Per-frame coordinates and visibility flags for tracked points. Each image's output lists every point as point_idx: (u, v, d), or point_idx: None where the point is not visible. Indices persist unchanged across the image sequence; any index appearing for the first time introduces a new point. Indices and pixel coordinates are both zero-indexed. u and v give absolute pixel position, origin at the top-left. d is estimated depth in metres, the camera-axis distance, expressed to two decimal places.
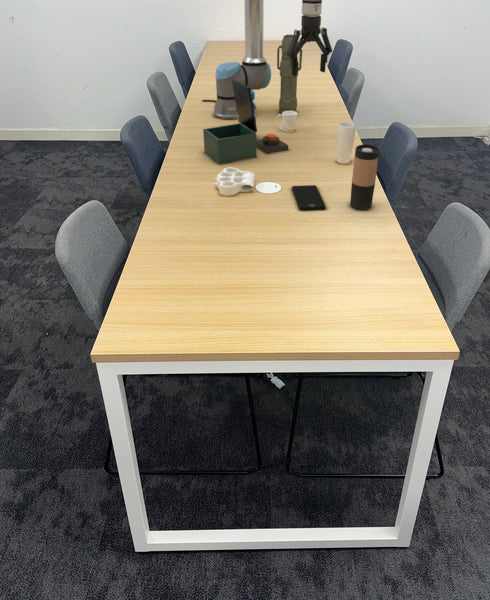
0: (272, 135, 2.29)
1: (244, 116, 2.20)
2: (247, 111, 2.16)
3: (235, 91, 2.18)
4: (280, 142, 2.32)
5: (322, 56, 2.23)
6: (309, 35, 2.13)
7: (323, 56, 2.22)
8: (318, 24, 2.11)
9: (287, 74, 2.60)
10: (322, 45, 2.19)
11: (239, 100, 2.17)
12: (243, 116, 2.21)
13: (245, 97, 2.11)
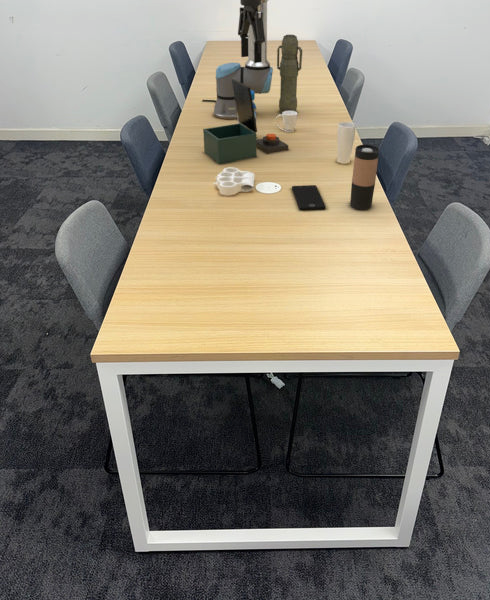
0: (272, 135, 2.29)
1: (244, 116, 2.20)
2: (247, 111, 2.16)
3: (235, 91, 2.18)
4: (280, 142, 2.32)
5: None
6: (244, 13, 2.00)
7: None
8: (243, 2, 1.95)
9: (287, 74, 2.60)
10: (253, 30, 1.99)
11: (239, 100, 2.17)
12: (243, 116, 2.21)
13: (245, 97, 2.11)
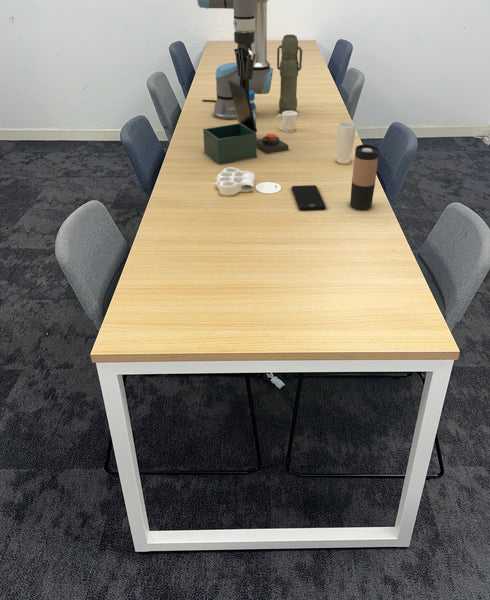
0: (272, 135, 2.29)
1: (243, 117, 2.20)
2: (245, 112, 2.15)
3: (232, 92, 2.17)
4: (280, 142, 2.32)
5: None
6: (238, 50, 2.06)
7: None
8: (237, 40, 2.01)
9: (287, 74, 2.60)
10: (243, 68, 2.07)
11: (237, 101, 2.17)
12: (242, 116, 2.21)
13: (242, 98, 2.11)
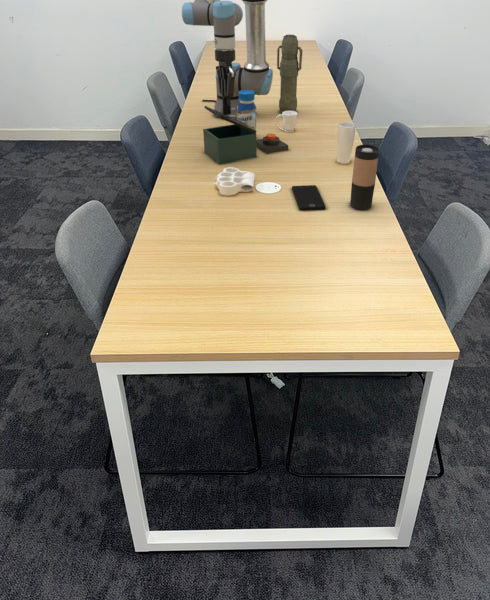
0: (272, 135, 2.29)
1: None
2: None
3: None
4: (280, 142, 2.32)
5: None
6: (219, 68, 2.06)
7: None
8: (217, 58, 2.01)
9: (287, 74, 2.60)
10: (224, 85, 2.07)
11: None
12: None
13: None
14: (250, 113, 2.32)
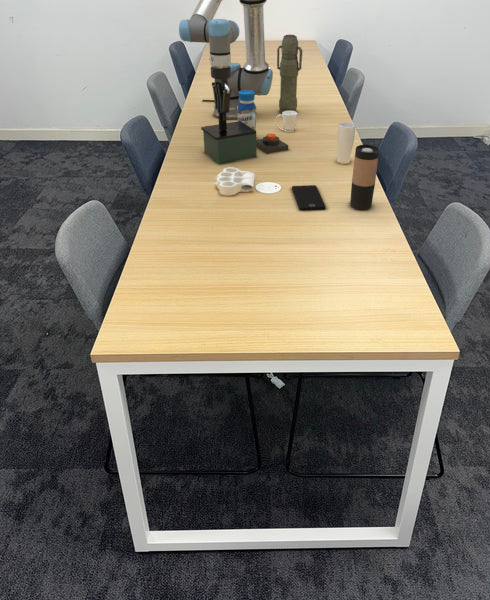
0: (272, 135, 2.29)
1: None
2: None
3: None
4: (280, 142, 2.32)
5: None
6: (214, 84, 2.08)
7: None
8: (213, 75, 2.03)
9: (287, 74, 2.60)
10: (220, 101, 2.10)
11: None
12: None
13: None
14: (250, 113, 2.32)
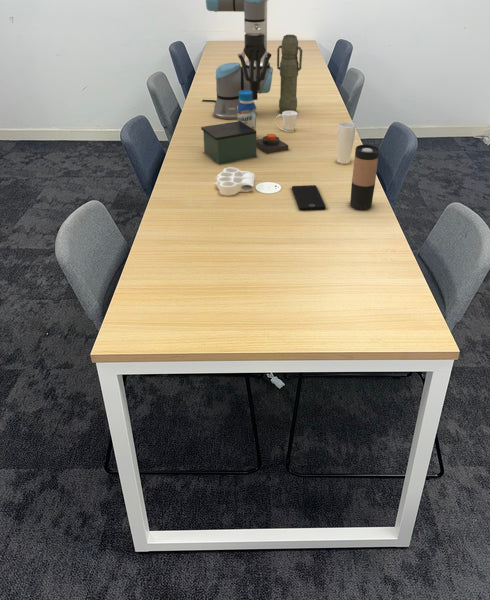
0: (272, 135, 2.29)
1: None
2: None
3: None
4: (280, 142, 2.32)
5: None
6: (251, 54, 2.06)
7: None
8: (260, 43, 2.03)
9: (287, 74, 2.60)
10: (258, 69, 2.10)
11: None
12: None
13: None
14: (250, 113, 2.32)
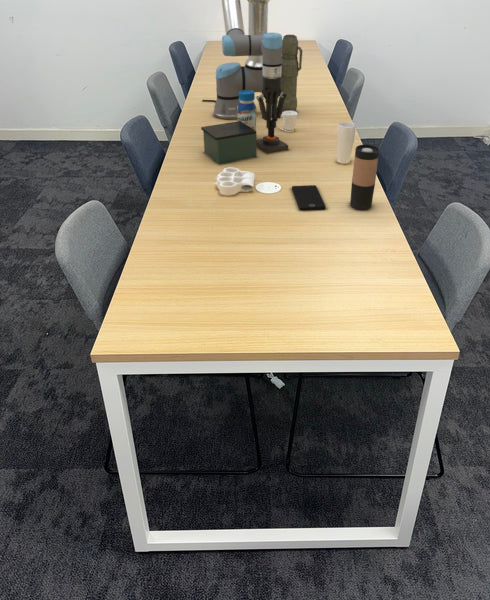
0: (272, 137, 2.29)
1: None
2: None
3: None
4: (280, 142, 2.32)
5: None
6: (270, 96, 2.18)
7: None
8: (278, 86, 2.16)
9: (287, 74, 2.60)
10: (275, 109, 2.23)
11: None
12: None
13: None
14: (250, 113, 2.32)
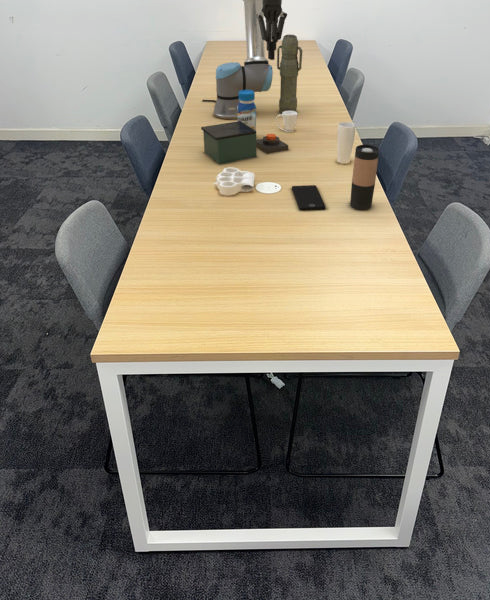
0: (272, 135, 2.29)
1: None
2: None
3: None
4: (280, 142, 2.32)
5: None
6: (270, 14, 2.13)
7: None
8: (279, 2, 2.11)
9: (287, 74, 2.60)
10: (276, 29, 2.18)
11: None
12: None
13: None
14: (250, 113, 2.32)
